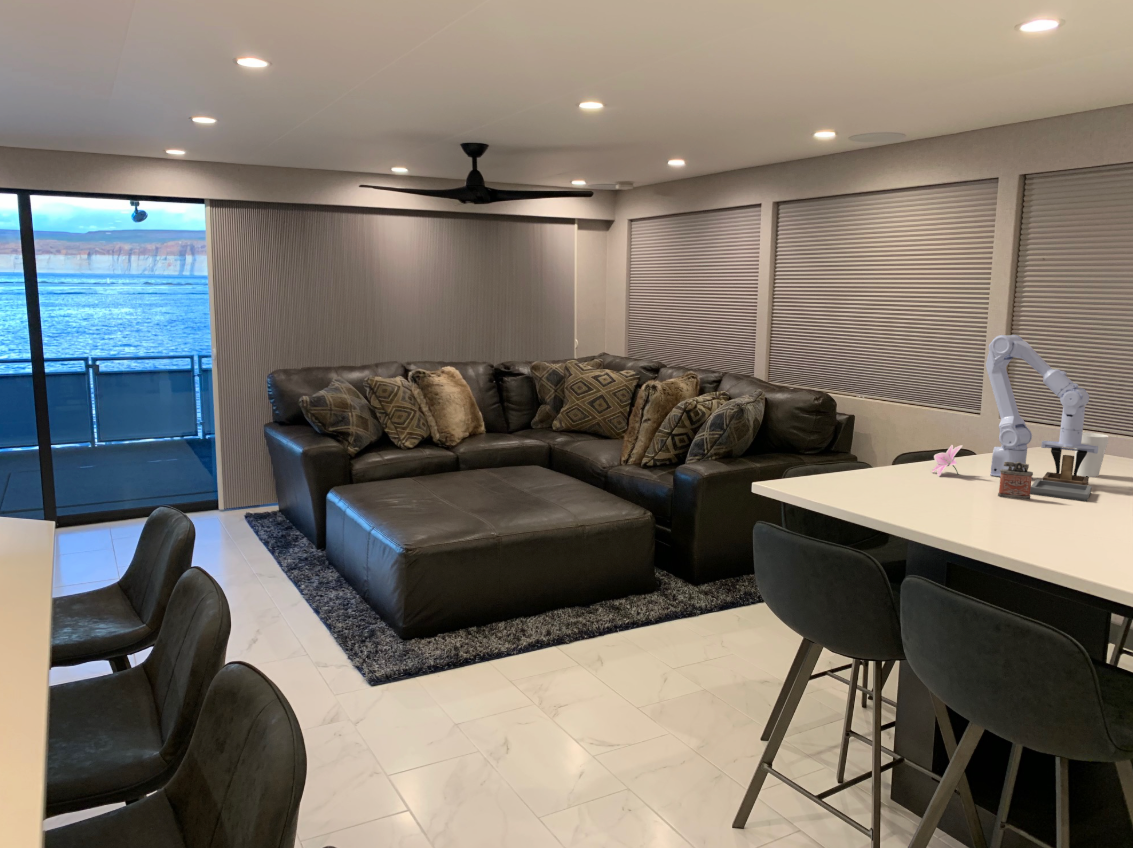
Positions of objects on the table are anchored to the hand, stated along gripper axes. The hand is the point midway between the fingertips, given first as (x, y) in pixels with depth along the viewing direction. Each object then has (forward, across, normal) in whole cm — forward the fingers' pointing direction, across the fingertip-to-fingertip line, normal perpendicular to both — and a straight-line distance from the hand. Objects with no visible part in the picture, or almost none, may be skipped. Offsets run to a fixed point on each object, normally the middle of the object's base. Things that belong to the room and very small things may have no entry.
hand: (1066, 474), depth 256 cm
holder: (+3, 0, 0) cm, 3 cm away
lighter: (+4, -10, -29) cm, 31 cm away
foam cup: (+4, +4, +24) cm, 25 cm away
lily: (+4, -32, -7) cm, 33 cm away
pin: (+3, 0, 0) cm, 3 cm away
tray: (+3, 0, -14) cm, 14 cm away
